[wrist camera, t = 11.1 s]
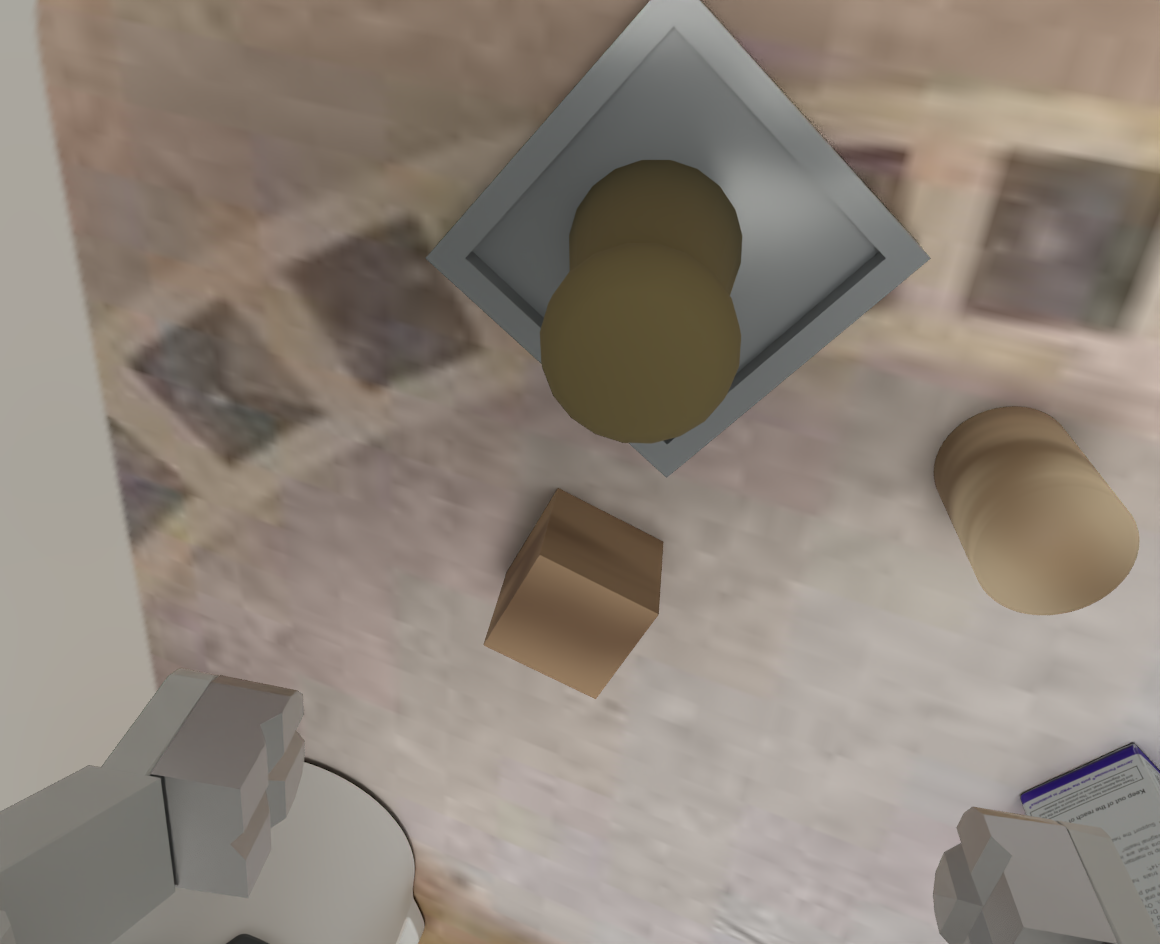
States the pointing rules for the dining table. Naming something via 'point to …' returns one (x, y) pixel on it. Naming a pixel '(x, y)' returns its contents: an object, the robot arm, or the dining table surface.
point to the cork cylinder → (1033, 512)
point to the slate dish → (724, 154)
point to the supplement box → (1113, 812)
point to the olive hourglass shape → (646, 305)
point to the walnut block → (578, 595)
